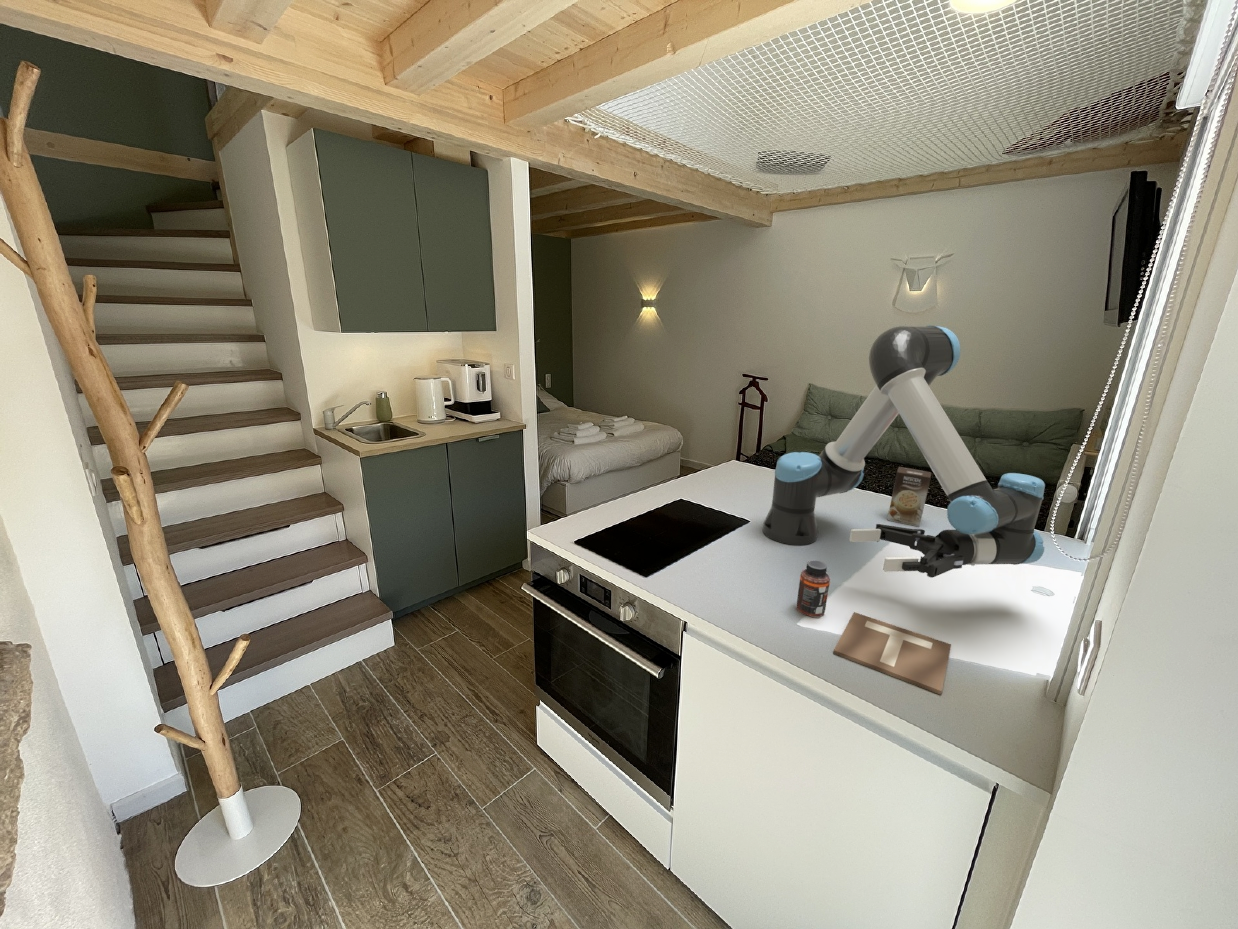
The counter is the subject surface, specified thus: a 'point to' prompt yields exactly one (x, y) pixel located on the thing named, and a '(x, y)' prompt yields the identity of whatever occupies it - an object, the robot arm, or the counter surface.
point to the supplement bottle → (813, 589)
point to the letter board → (895, 651)
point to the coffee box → (909, 496)
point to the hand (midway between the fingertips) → (866, 549)
